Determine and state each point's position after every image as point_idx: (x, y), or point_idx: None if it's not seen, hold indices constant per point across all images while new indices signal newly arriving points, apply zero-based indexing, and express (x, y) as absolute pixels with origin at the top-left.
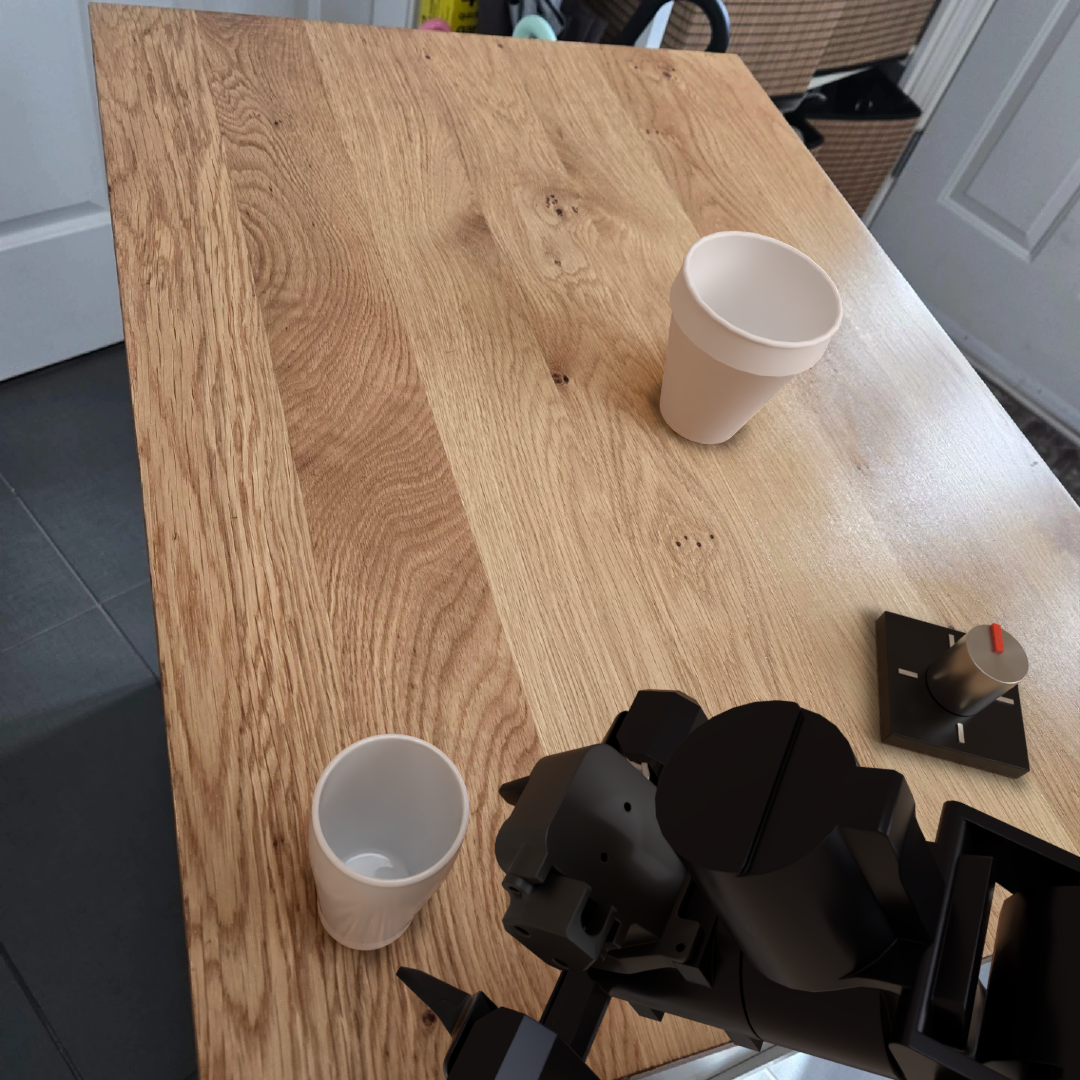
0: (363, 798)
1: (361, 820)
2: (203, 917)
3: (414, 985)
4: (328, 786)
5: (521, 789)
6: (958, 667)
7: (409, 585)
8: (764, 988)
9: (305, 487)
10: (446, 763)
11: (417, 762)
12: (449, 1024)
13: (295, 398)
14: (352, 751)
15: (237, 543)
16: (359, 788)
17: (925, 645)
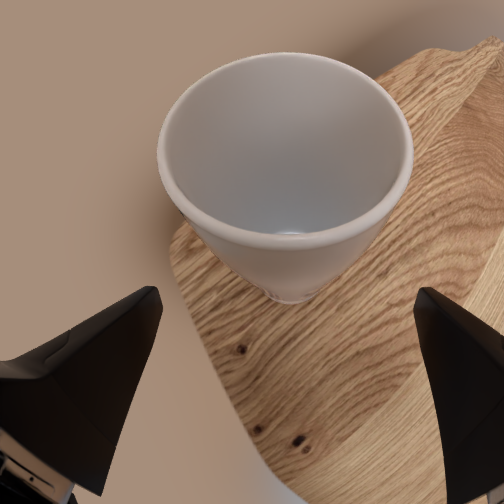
0: (328, 183)
1: (321, 210)
2: None
3: (114, 306)
4: (285, 99)
5: (443, 310)
6: None
7: (473, 180)
8: None
9: (461, 111)
10: (404, 155)
11: (381, 159)
12: (25, 356)
13: (480, 93)
14: (320, 62)
15: (415, 97)
16: (328, 164)
17: None
